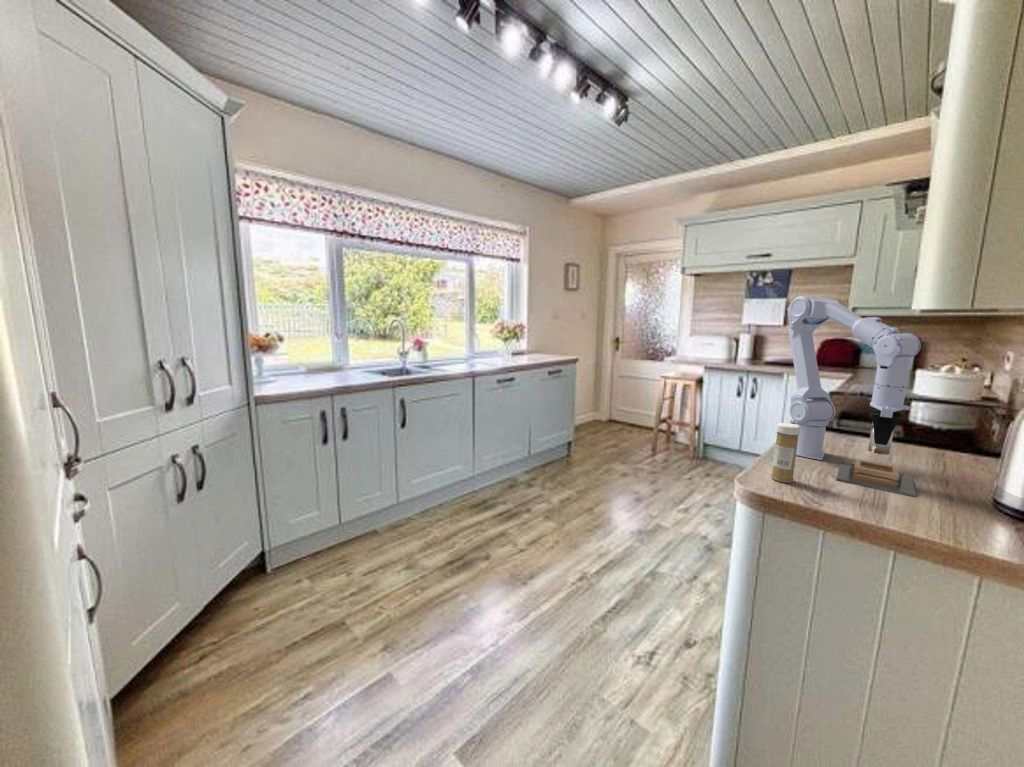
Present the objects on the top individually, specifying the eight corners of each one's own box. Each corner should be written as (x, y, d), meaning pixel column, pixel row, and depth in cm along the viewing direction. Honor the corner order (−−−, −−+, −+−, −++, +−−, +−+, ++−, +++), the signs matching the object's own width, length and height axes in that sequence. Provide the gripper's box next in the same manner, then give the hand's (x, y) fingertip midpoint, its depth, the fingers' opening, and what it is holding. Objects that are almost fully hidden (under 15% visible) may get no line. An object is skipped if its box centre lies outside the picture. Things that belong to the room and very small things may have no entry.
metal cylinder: (867, 448, 108) (872, 420, 107) (889, 451, 105) (894, 423, 104) (867, 452, 105) (872, 423, 103) (890, 455, 102) (895, 426, 101)
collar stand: (839, 465, 116) (841, 453, 115) (911, 479, 107) (913, 466, 107) (836, 480, 105) (838, 467, 104) (915, 497, 96) (917, 483, 96)
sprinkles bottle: (796, 481, 104) (804, 425, 101) (787, 485, 101) (794, 428, 99) (776, 475, 107) (783, 421, 105) (766, 478, 105) (773, 423, 103)
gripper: (915, 391, 94) (904, 452, 96) (911, 384, 105) (901, 439, 108) (873, 387, 99) (863, 445, 101) (873, 380, 110) (864, 433, 112)
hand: (880, 442), depth 104 cm, fingers closed on metal cylinder, 4 cm apart
